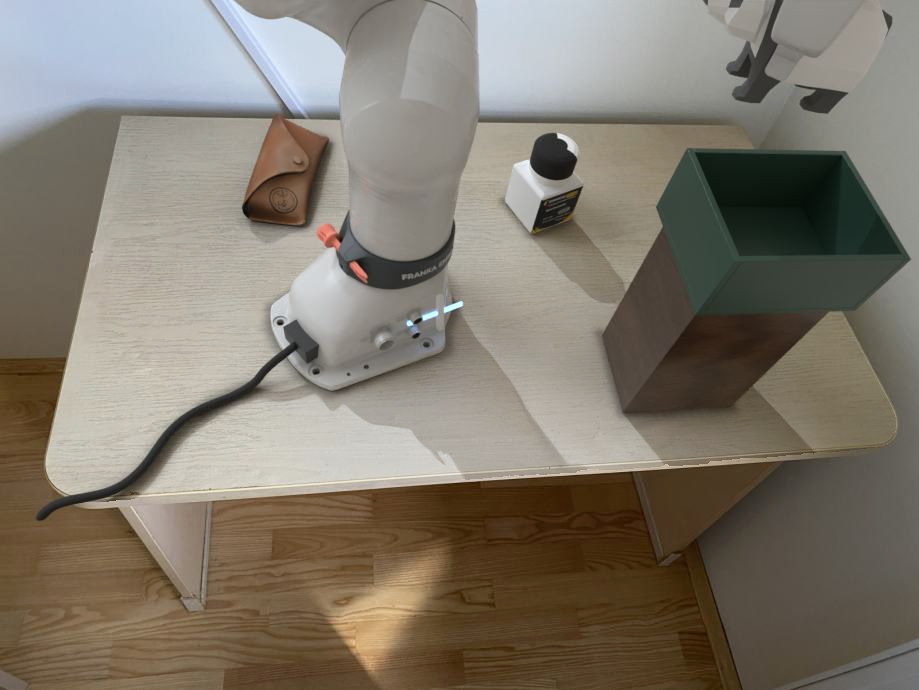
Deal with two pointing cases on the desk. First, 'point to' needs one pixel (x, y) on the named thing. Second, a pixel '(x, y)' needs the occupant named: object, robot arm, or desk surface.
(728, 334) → the stand
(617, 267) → the desk surface
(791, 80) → the giant panda
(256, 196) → the sunglasses case
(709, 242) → the bin
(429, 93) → the robot arm
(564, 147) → the medicine bottle
